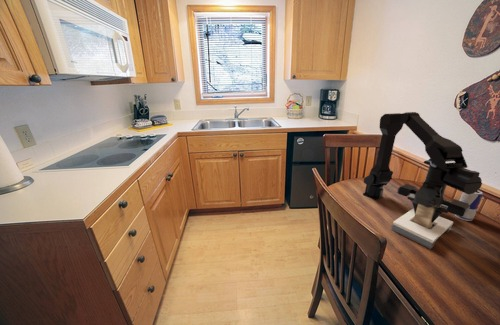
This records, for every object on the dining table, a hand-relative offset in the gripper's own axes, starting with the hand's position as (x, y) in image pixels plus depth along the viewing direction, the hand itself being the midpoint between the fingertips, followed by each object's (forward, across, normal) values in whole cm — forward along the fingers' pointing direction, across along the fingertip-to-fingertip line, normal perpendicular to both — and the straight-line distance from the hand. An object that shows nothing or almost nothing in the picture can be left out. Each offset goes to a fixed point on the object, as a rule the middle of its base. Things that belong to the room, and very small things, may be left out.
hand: (424, 218), depth 76 cm
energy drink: (+5, +6, +23) cm, 24 cm away
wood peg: (+4, 0, 0) cm, 4 cm away
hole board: (+5, 0, 0) cm, 5 cm away
